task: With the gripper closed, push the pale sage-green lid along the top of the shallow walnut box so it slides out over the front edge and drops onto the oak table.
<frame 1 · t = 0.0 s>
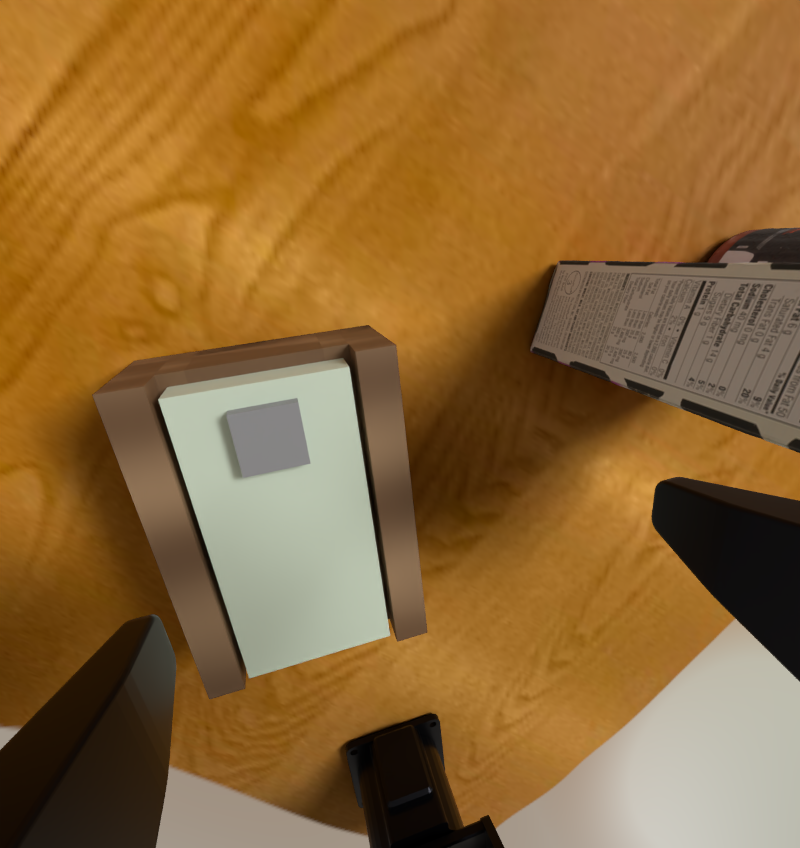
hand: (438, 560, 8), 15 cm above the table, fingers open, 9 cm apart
lid: (292, 518, 19), point 3 cm above the table, touching walnut box
supplement bottle: (728, 286, 26), on the table, touching candy bar box
candy bar box: (623, 323, 25), on the table, touching supplement bottle
walnut box: (288, 480, 22), on the table
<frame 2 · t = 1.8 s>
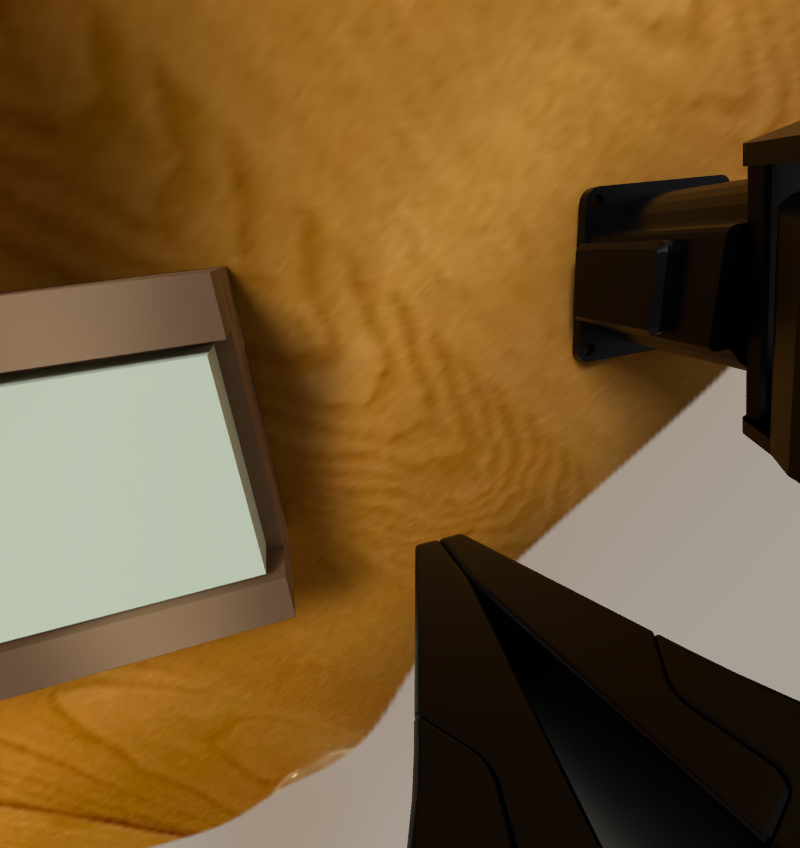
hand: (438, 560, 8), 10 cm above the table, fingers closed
walnut box: (43, 451, 15), on the table
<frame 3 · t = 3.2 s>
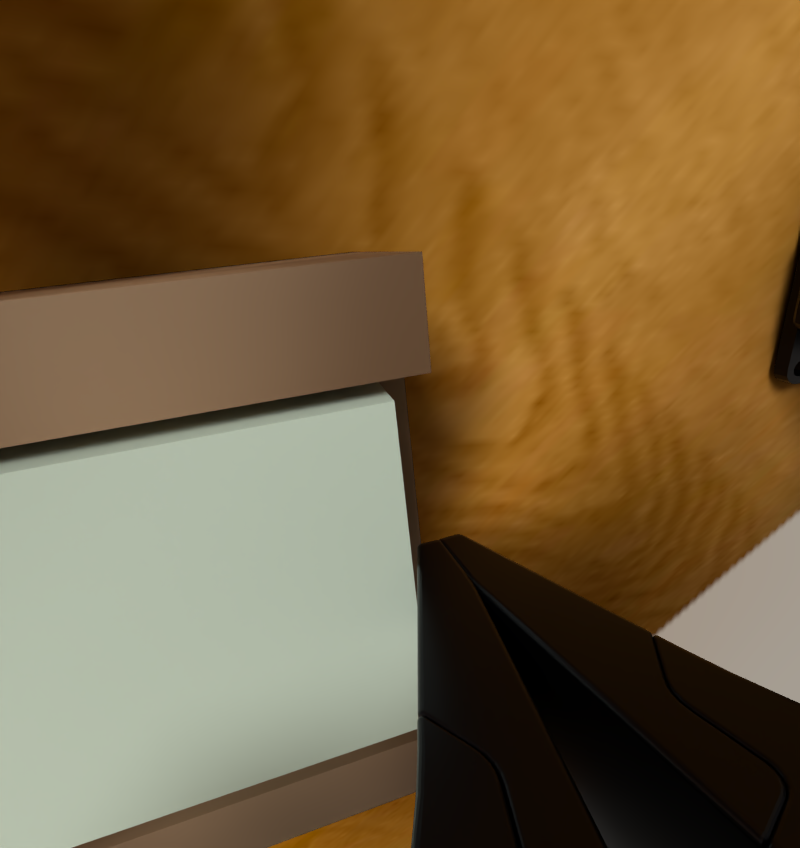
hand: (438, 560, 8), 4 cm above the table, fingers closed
walnut box: (84, 517, 10), on the table
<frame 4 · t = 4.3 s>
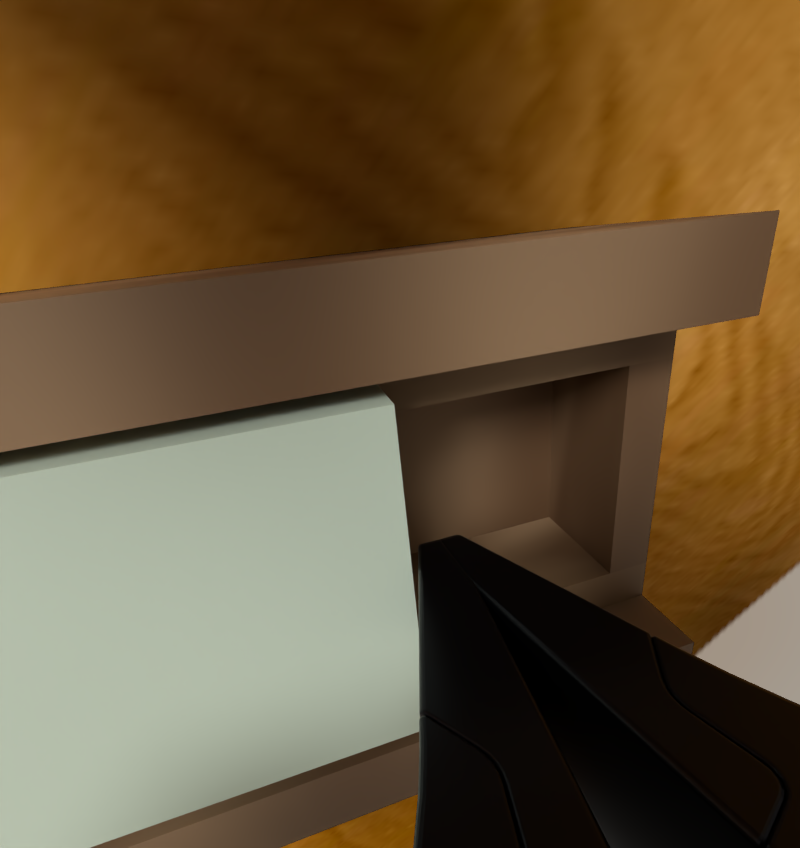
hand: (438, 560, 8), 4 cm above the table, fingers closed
walnut box: (319, 469, 11), on the table
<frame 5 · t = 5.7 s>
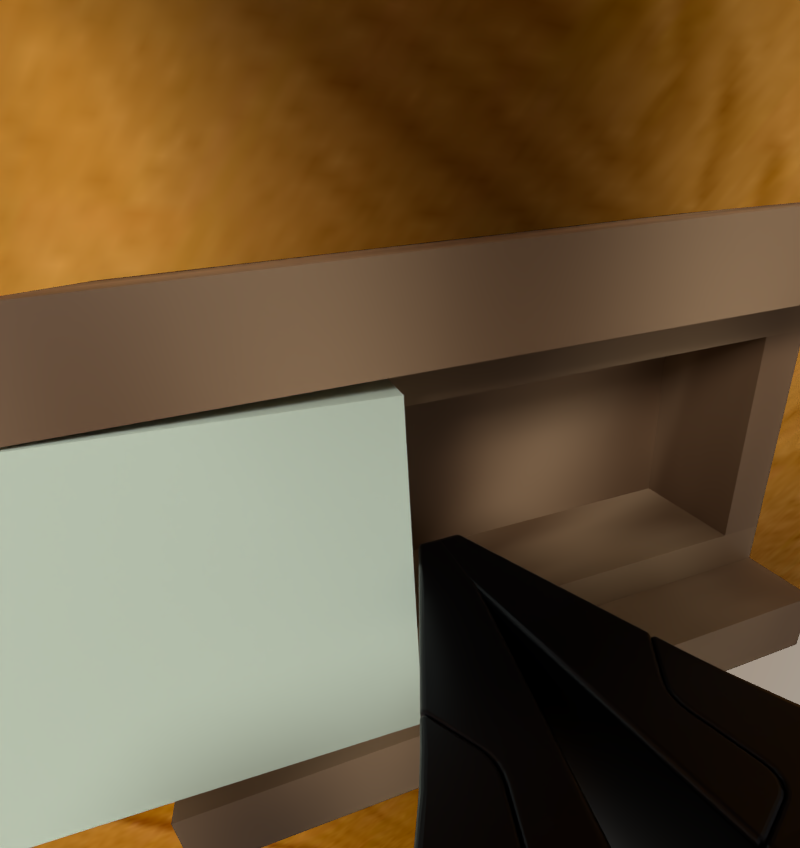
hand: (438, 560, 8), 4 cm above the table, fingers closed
walnut box: (443, 440, 12), on the table
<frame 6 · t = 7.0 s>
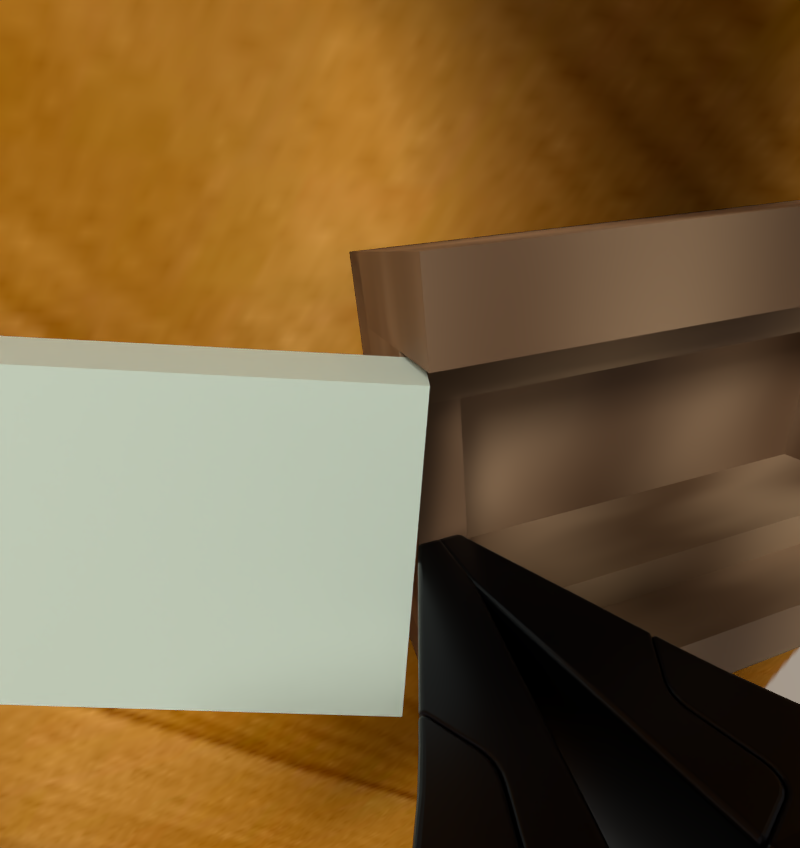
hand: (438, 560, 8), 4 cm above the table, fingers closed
lid: (60, 509, 8), point 2 cm above the table, tilted 15°, touching gripper, walnut box
walnut box: (608, 406, 13), on the table
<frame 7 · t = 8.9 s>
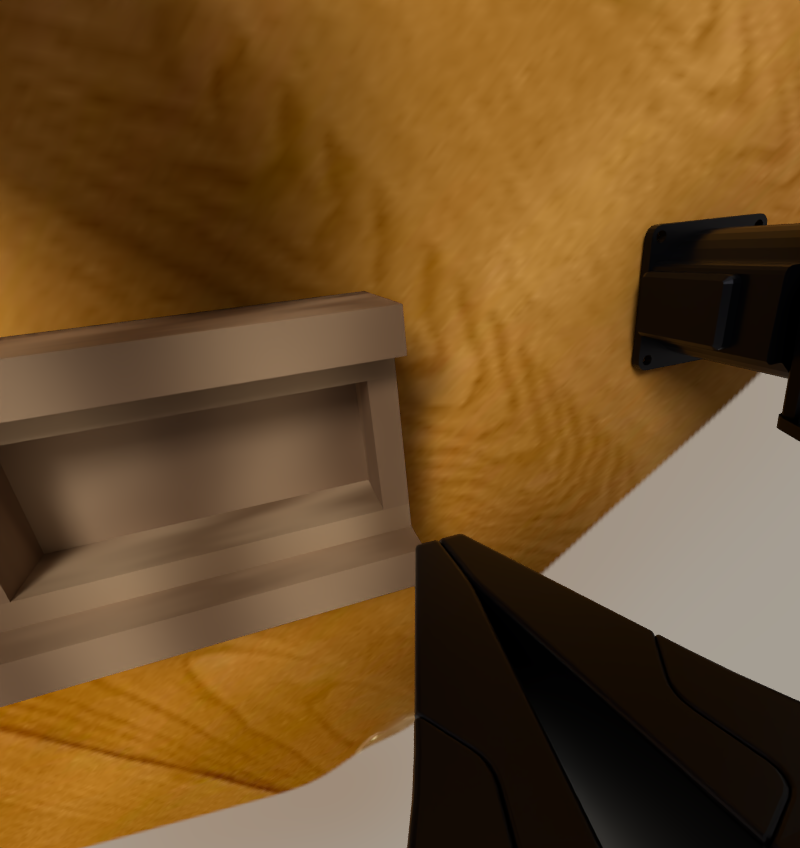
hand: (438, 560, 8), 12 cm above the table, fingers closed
walnut box: (205, 446, 18), on the table
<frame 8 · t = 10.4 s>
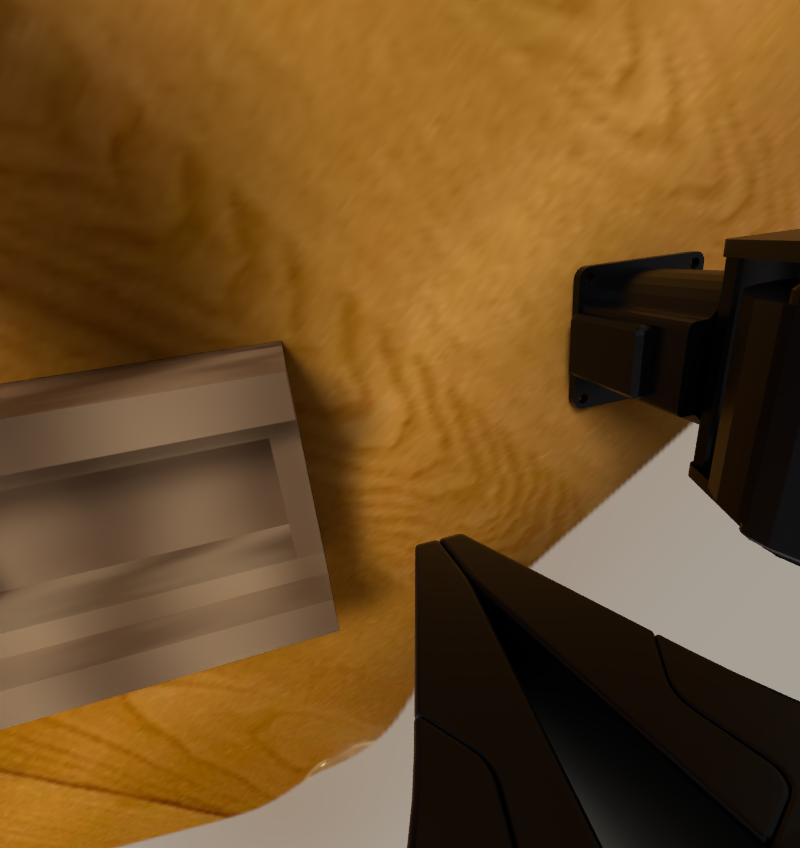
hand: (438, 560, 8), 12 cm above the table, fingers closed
walnut box: (128, 492, 18), on the table
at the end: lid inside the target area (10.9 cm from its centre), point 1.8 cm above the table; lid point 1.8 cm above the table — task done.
